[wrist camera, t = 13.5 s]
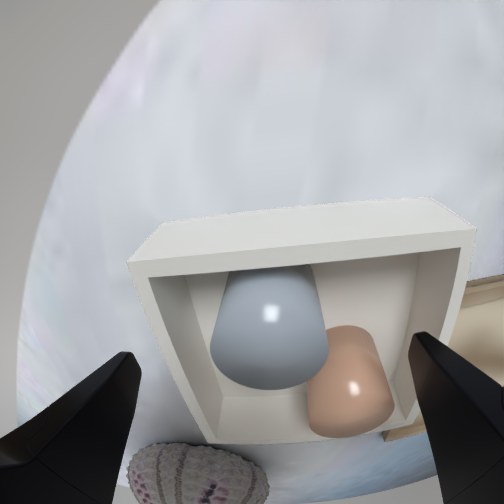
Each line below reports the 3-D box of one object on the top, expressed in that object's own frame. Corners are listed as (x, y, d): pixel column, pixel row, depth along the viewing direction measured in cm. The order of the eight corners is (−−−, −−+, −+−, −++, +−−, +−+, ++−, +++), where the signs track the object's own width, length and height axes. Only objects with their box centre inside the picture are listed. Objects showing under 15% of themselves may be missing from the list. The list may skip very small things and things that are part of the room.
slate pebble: (316, 315, 13) (327, 385, 9) (235, 321, 13) (223, 391, 9) (312, 240, 11) (329, 301, 8) (220, 249, 12) (197, 311, 8)
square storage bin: (397, 377, 15) (412, 423, 12) (217, 394, 17) (207, 443, 13) (429, 196, 10) (476, 228, 7) (163, 222, 12) (125, 261, 9)
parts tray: (495, 396, 17) (499, 404, 16) (382, 432, 18) (384, 442, 17) (556, 261, 11) (564, 268, 10) (425, 288, 12) (433, 300, 11)
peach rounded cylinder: (369, 370, 14) (385, 430, 11) (304, 378, 15) (308, 442, 11) (378, 320, 13) (403, 385, 9) (302, 329, 13) (309, 399, 9)
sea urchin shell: (109, 432, 22) (83, 497, 15) (227, 423, 18) (212, 522, 11) (188, 483, 27) (177, 536, 19) (293, 477, 23) (292, 542, 16)
